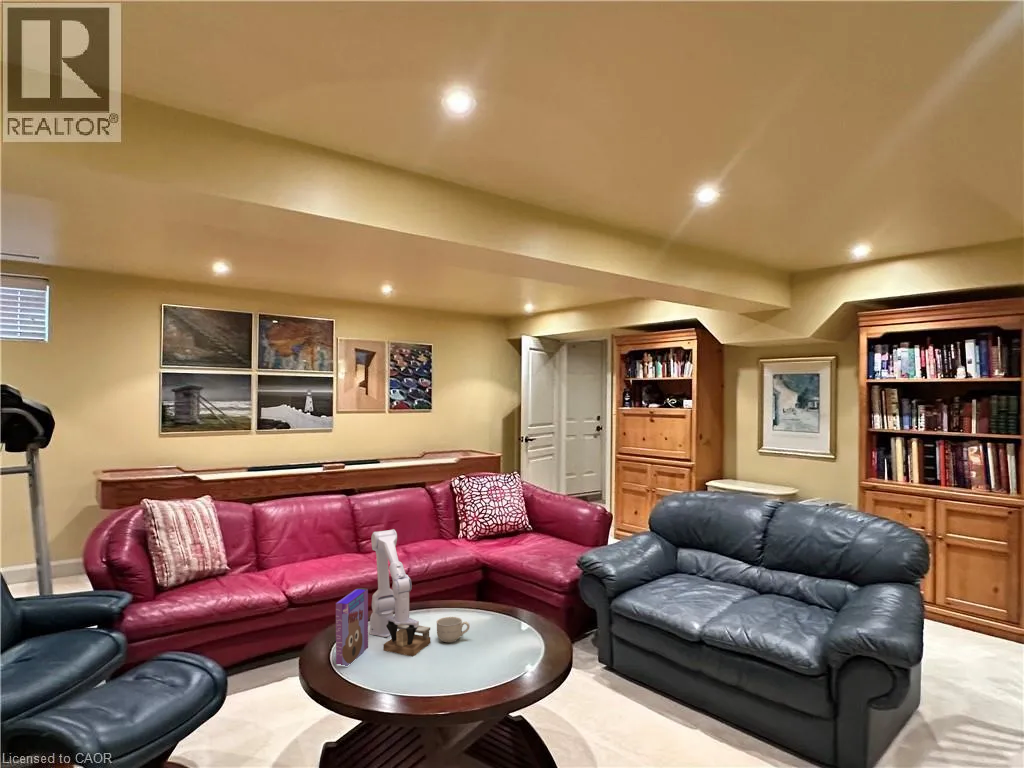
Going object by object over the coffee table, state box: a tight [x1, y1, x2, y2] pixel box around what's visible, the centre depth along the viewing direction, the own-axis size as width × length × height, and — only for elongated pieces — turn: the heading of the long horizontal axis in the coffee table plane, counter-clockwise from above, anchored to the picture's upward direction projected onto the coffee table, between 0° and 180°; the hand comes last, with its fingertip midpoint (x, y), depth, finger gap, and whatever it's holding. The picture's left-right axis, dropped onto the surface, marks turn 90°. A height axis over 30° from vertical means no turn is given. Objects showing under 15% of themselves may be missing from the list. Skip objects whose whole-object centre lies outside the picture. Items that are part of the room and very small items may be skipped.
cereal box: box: [335, 587, 369, 666], centre depth 227 cm, size 17×5×24 cm, turn 168°
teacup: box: [436, 616, 470, 643], centre depth 241 cm, size 14×11×8 cm
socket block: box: [382, 624, 431, 657], centre depth 235 cm, size 14×13×6 cm
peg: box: [396, 629, 407, 647], centre depth 231 cm, size 3×3×8 cm
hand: (402, 642), depth 231 cm, fingers open, 7 cm apart
